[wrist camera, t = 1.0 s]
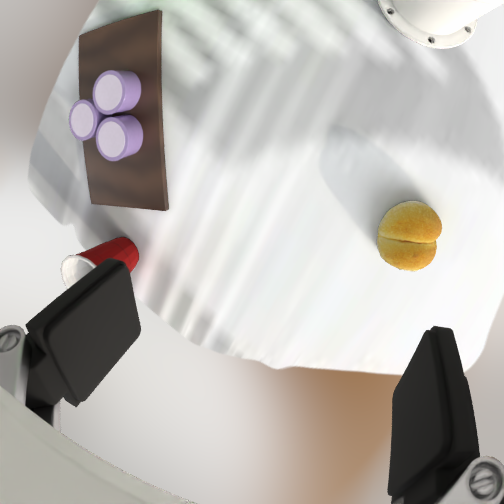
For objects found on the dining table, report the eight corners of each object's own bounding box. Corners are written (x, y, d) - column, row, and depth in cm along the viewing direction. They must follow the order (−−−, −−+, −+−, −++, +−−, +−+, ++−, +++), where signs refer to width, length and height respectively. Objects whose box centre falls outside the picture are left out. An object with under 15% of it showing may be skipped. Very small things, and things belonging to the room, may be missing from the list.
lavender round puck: (109, 116, 41) (93, 119, 38) (142, 112, 39) (126, 115, 36) (112, 156, 44) (97, 161, 41) (144, 155, 42) (130, 161, 39)
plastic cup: (146, 288, 56) (107, 327, 46) (102, 259, 56) (61, 292, 46) (158, 243, 50) (112, 281, 40) (109, 213, 50) (60, 243, 40)
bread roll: (443, 204, 33) (452, 215, 30) (428, 266, 38) (433, 282, 34) (383, 192, 36) (386, 203, 32) (371, 257, 40) (372, 272, 36)
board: (83, 35, 36) (79, 35, 35) (162, 10, 32) (158, 9, 31) (95, 202, 50) (91, 204, 49) (169, 208, 46) (165, 211, 45)
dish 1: (107, 74, 37) (91, 74, 34) (140, 66, 36) (124, 66, 33) (109, 113, 40) (93, 116, 38) (142, 109, 39) (126, 112, 36)
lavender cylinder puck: (83, 100, 41) (67, 102, 38) (110, 94, 39) (94, 96, 36) (85, 137, 44) (70, 142, 41) (113, 134, 42) (97, 139, 39)
